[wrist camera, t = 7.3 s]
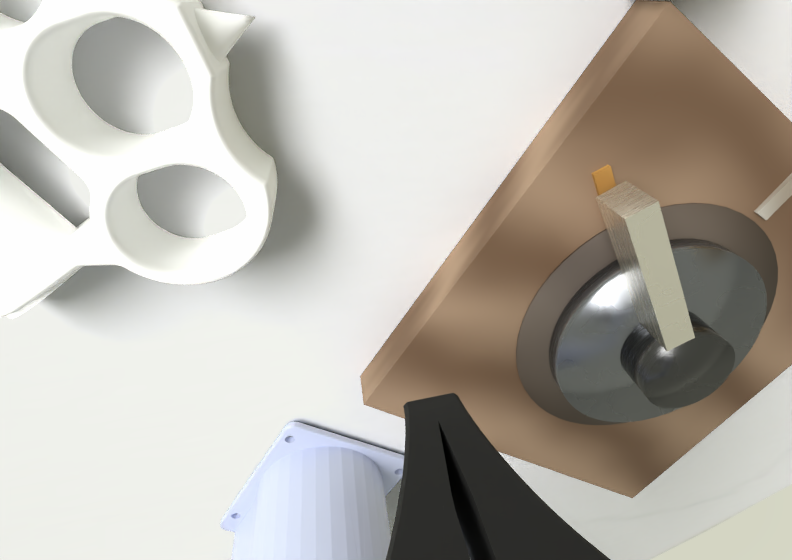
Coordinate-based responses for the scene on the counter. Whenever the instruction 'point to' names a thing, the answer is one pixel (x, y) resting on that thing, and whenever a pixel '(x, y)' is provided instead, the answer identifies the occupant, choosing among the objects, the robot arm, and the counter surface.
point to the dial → (654, 318)
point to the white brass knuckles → (123, 154)
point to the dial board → (604, 252)
